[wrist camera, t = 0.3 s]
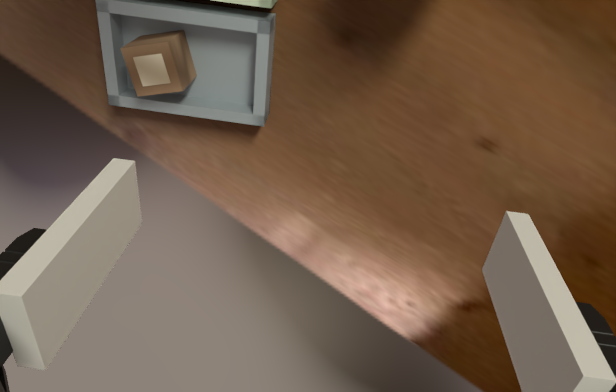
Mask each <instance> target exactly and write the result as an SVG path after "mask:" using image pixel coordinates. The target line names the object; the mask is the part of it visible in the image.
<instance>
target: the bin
mask: <svg viewBox="0 0 616 392" xmlns="http://www.w3.org/2000/svg"><path fill="white" fill-rule="evenodd" d="M95 1H96V9H97V17H98V24H99V32H100V39H101V47H102V55H103V62H104V70H105V78H106V85H107V93H108V101H109V105H114V106H121V107H128V108H135V109H142V110H149V111H156V112H164V113H171V114H178V115H185V116H192V117H199V118H206V119H214V120H221V121H228V122H235V123H242V124H249V125H256V126H263V127H264V125H265V122H266V120H267V117H268V115H269V107H270V93H271V78H272V64H273V50H274V35H275V21H276V14H273V13H266V12H258V11H251V10H244V9H236V8H229V7H222V6H214V5H207V4H200V3H192V2H185V1H178V0H95ZM177 30H184V31H185V35H186V38H187V42H188V46H189V49H190V53H191V56H192V60H193V63H194V67H195V70H196V74H197V76H196V77H195V78H194V79H193V80H192V82H191V83H190V84H189V85H188V86H187V87H186V88H185V89H184V90H183V91H180V92H172V93H164V94H155V95H147V96H139V97H138V96H137V94H136V91H135V88H134V85H133V82H132V80H131V77H130V74H129V71H128V69H127V66H126V63H125V60H124V57H123V55H122V52H121V49H120V48H122V47H123V46H125V45H126V44H128V43H130V42H131V41H133V40H134V39H136V38H138V37H139V36H142V35H149V34H156V33H163V32H170V31H177Z"/></svg>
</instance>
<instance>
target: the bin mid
mask: <svg viewBox="0 0 616 392" xmlns="http://www.w3.org/2000/svg"><path fill="white" fill-rule="evenodd" d="M212 1H220V2H227V3H235V4H242V5H249V6H257V7H264V8H272V7H273V6H274V4H275V3H276V2H277V0H212Z"/></svg>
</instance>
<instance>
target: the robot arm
mask: <svg viewBox="0 0 616 392" xmlns="http://www.w3.org/2000/svg"><path fill="white" fill-rule="evenodd" d="M141 224H142V216H141V208H140V200H139V191H138V182H137V174H136V165H135V161H132V160H124V159H116V158H113V160H111V162H110V163H109V164H108V165H107V166H106V167H105V168H104V169H103V170H102V171H101V172H100V173H99V174H98V176H97V177H96V178H95V179H94V180H93V181H92V182H91V183H90V184H89V185H88V186H87V188H86V189H85V190H84V191H83V192H82V193H81V194H80V195H79V196H78V197H77V199H75V200H74V201H73V203H72V204H71V205H70V206H69V207H68V208H67V209H66V210H65V211H64V212H63V213H62V214H61V215H60V217H59V218H58V219H57V220H56V221H55V222H54V223H53V224H52V225H51V226H50V227H49V228H48V229H47V230H45V229H38V228H33V229H32V230H30V231H28V232H26V233H24V234H23V235H21V236H19V237H17V238H16V239H15V240H14V241H13V242H12V243H11V244H10V245H9V246H8V247H7V248H6V249H5V252H2V253H1V254H0V392H10V391H9V386H8V381H7V376H6V372H5V369H4V366H3V364H4V363H5V361H6V360H7V358H8V357H9V356H10V355H11V353H13V355H14V358H15V361H16V363H17V366H20V367H27V368H34V369H40V370H46V369H47V368H48V366H49V365H50V363H51V361H52V360H53V359H54V357H55V355H56V354H57V352H58V351H59V349H60V348H61V346H62V345H63V343H64V342H65V340H66V339H67V337H68V336H69V334H70V333H71V331H72V330H73V328H74V326H75V325H76V323H77V322H78V320H79V319H80V317H81V316H82V314H83V313H84V311H85V310H86V308H87V307H88V305H89V304H90V302H91V301H92V299H93V297H94V296H95V295H96V293H97V292H98V290H99V288H100V287H101V285H102V284H103V282H104V281H105V279H106V278H107V276H108V275H109V273H110V272H111V270H112V269H113V267H114V266H115V264H116V263H117V261H118V259H119V258H120V256H121V255H122V253H123V252H124V250H125V249H126V247H127V246H128V244H129V243H130V241H131V240H132V238H133V237H134V235H135V233H136V232H137V231H138V229H139V227H140V226H141ZM482 272H483V275H484V278H485V281H486V284H487V287H488V290H489V293H490V296H491V299H492V302H493V305H494V308H495V311H496V314H497V317H498V320H499V323H500V326H501V329H502V332H503V335H504V338H505V341H506V344H507V347H508V350H509V353H510V356H511V359H512V362H513V365H514V369H515V372H516V375H517V378H518V381H519V384H520V387H521V390H522V392H616V337H615V336H613V332H612V330H611V328H610V327H609V325H608V323H607V322H606V320H605V318H604V317H603V316H602V315H601V314H600V313H599V312H598V311H597V310H596V309H595V308H593V307H592V306H591V305H590V304H587V303H580V302H575V301H574V299H573V297H572V295H571V293H570V291H569V289H568V288H567V286H566V284H565V282H564V280H563V278H562V276H561V274H560V273H559V271H558V269H557V267H556V265H555V263H554V261H553V259H552V258H551V256H550V254H549V252H548V250H547V248H546V246H545V244H544V243H543V241H542V239H541V237H540V235H539V233H538V231H537V229H536V228H535V226H534V224H533V222H532V220H531V218H530V216H529V214H524V213H517V212H509V211H506V213H505V215H504V218H503V220H502V223H501V225H500V228H499V230H498V232H497V235H496V237H495V240H494V242H493V245H492V247H491V249H490V252H489V254H488V257H487V259H486V261H485V264H484V266H483V269H482Z"/></svg>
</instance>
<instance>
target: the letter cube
mask: <svg viewBox="0 0 616 392" xmlns="http://www.w3.org/2000/svg"><path fill="white" fill-rule="evenodd" d="M120 49H121V52H122V55H123V57H124V60H125V63H126V66H127V69H128V71H129V74H130V77H131V80H132V82H133V85H134V88H135V91H136V94H137V96H138V97H139V96H147V95H155V94H164V93H172V92H180V91H183V90H184V89H185V88H186V87H187V86H188V85H189V84H190V83H191V82H192V80H193V79H194V78H195V77H196V76H197V74H196V70H195V67H194V63H193V60H192V56H191V53H190V49H189V46H188V42H187V38H186V35H185V31H184V30H177V31H170V32H163V33H156V34H149V35H142V36H139V37H138V38H136V39H134V40H133V41H131V42H130V43H128V44H126V45H125V46H123V47H122V48H120Z"/></svg>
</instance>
